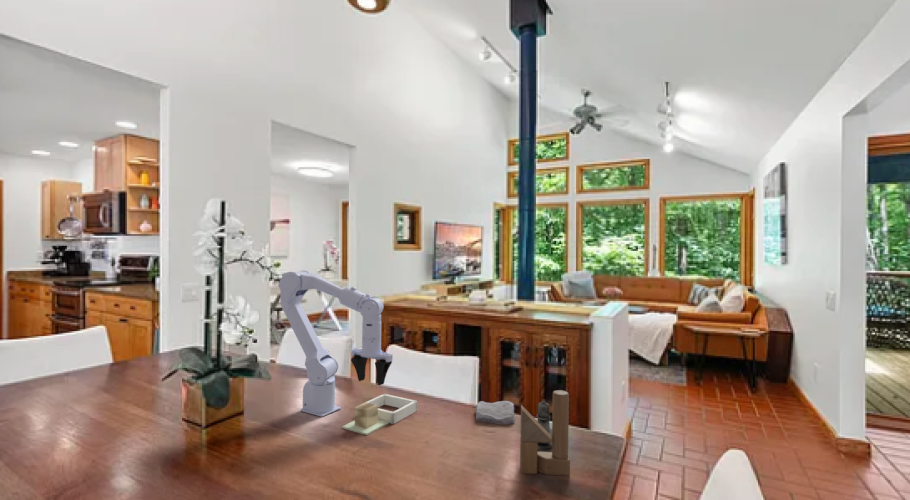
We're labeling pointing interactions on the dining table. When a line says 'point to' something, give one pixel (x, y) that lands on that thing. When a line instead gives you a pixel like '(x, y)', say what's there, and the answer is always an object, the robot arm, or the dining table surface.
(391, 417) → the box
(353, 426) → the pad
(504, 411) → the stone block
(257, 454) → the dining table surface
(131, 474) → the dining table surface
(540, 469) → the wooden block
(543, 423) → the salt shaker
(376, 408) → the wood block
